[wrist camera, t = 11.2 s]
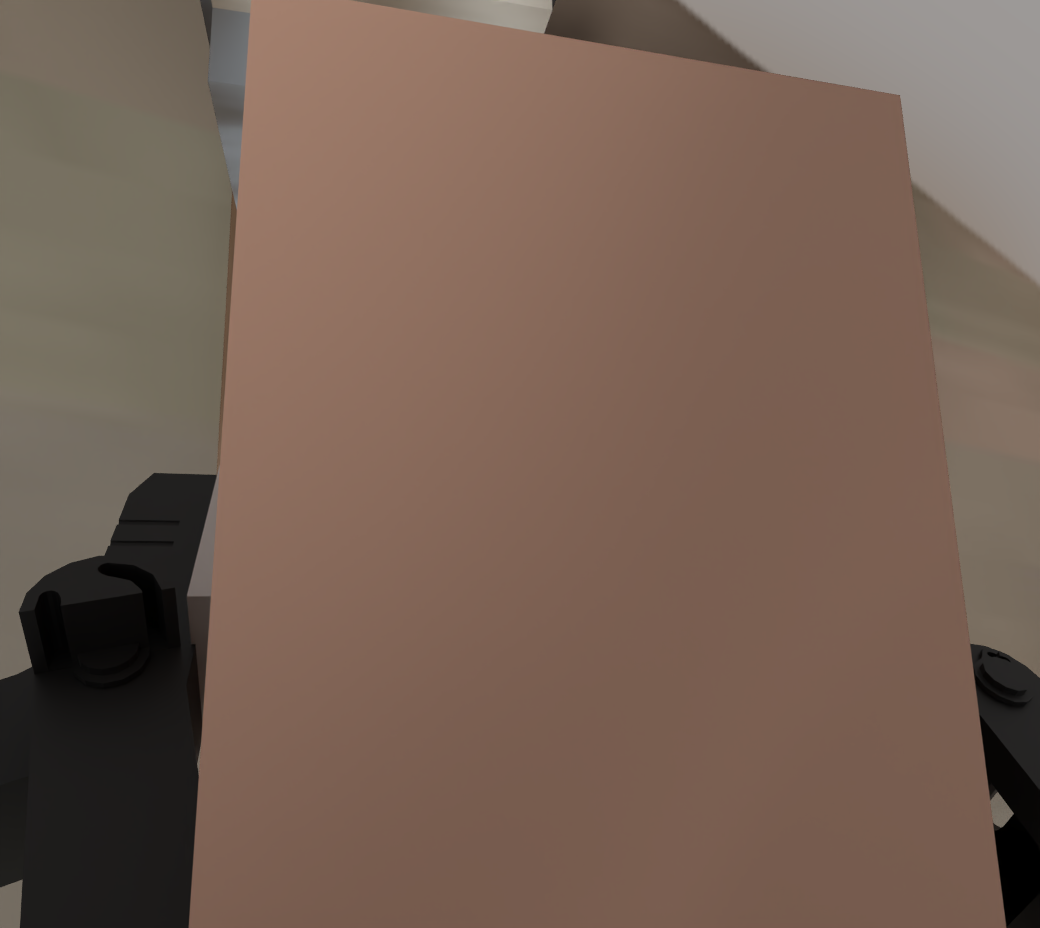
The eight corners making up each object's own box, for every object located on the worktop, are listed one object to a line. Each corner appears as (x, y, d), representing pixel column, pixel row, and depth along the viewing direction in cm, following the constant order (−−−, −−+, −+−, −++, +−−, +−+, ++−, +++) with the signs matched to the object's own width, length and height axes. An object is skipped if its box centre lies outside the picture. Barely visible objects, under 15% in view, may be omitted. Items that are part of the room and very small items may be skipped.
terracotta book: (289, 808, 17) (149, 1498, 3) (305, 448, 18) (251, -19, 5) (513, 793, 18) (1049, 1265, 5) (510, 456, 20) (898, 95, 6)
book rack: (218, 536, 34) (121, 455, 18) (238, 165, 38) (171, -169, 22) (487, 536, 37) (605, 466, 21) (481, 191, 40) (578, -89, 25)
